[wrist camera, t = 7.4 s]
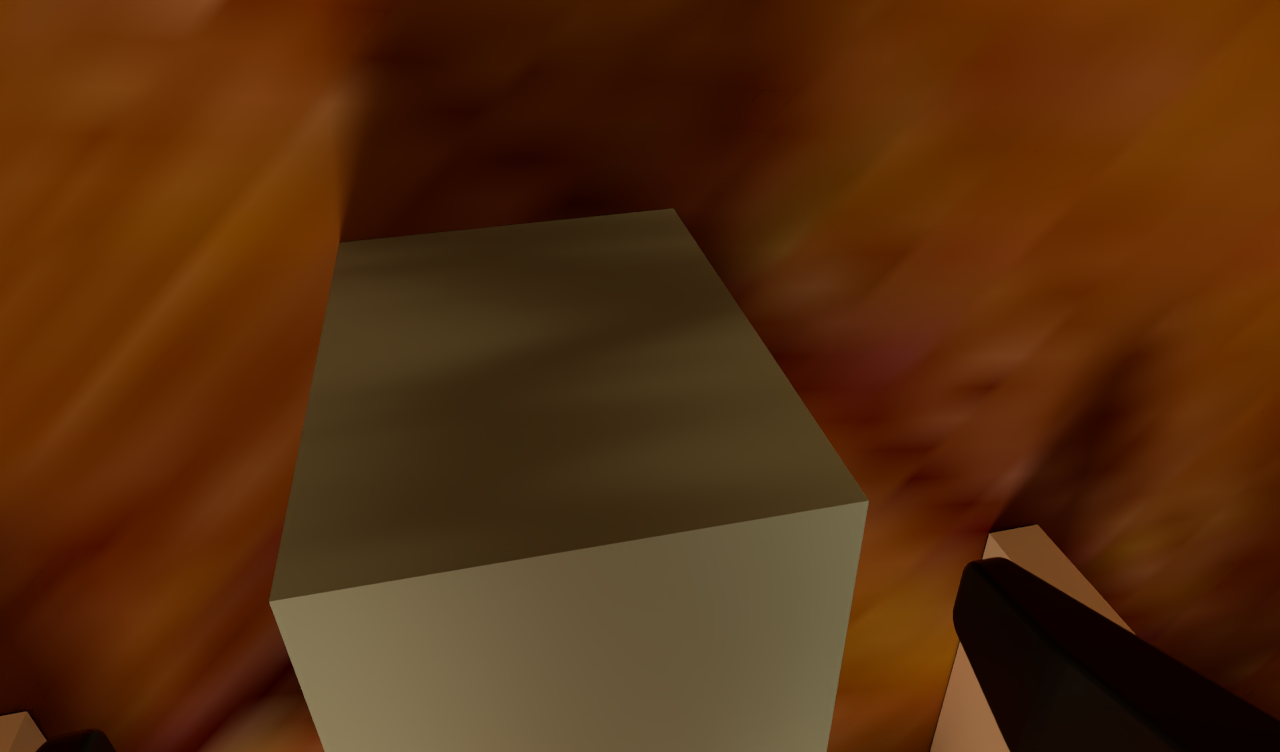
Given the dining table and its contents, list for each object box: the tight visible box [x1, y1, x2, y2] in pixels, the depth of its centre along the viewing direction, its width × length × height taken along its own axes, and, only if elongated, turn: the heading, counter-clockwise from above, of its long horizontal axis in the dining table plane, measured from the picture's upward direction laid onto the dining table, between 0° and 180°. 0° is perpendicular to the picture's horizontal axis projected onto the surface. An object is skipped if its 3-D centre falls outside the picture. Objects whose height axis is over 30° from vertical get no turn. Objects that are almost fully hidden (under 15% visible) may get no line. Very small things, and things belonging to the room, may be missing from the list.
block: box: [269, 208, 869, 752], centre depth 11 cm, size 5×5×7 cm
